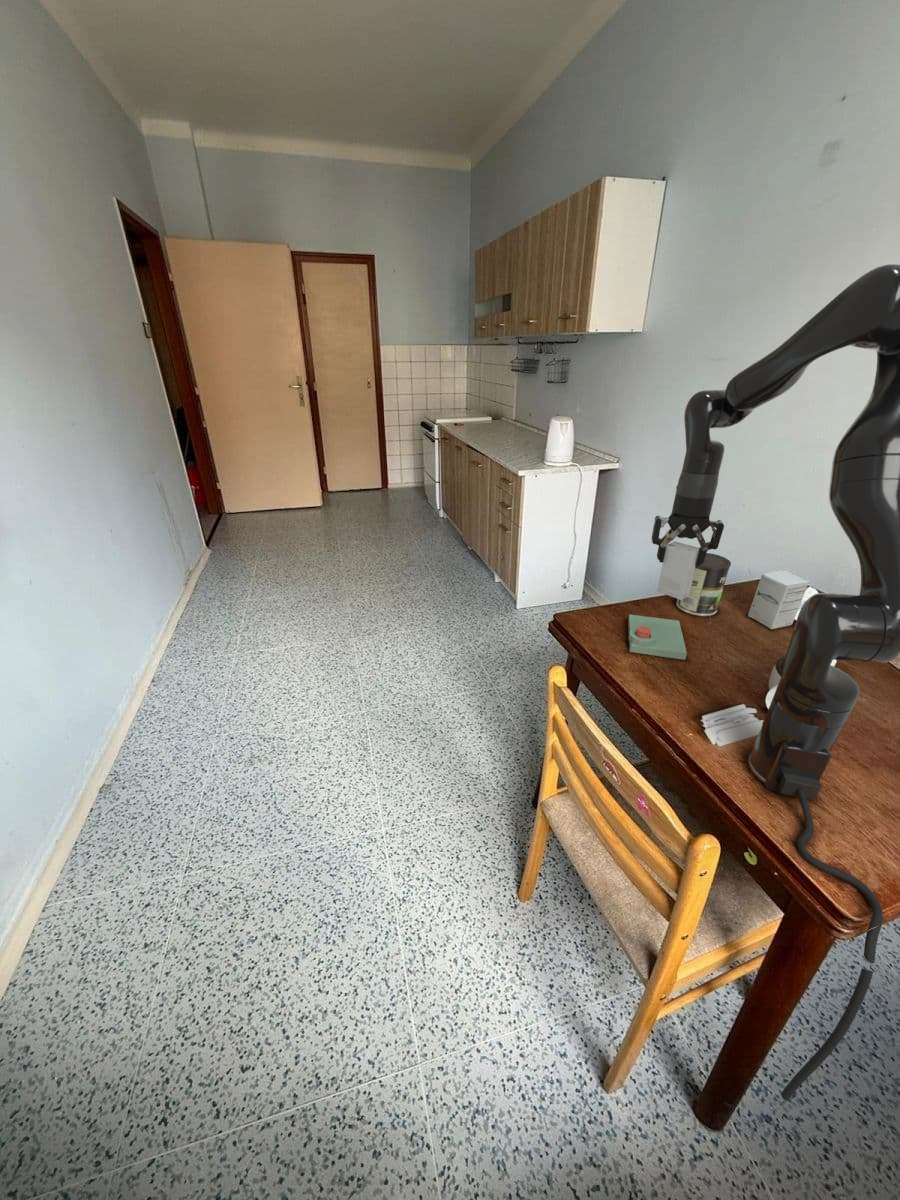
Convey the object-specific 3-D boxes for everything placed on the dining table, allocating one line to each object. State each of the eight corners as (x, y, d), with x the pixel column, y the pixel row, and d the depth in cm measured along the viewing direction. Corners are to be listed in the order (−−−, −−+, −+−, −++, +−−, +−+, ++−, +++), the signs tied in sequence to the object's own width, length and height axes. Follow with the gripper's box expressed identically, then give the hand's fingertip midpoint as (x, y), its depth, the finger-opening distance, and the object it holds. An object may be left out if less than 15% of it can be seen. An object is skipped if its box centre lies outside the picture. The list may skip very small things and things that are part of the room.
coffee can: (718, 603, 130) (732, 556, 124) (715, 620, 123) (729, 570, 116) (678, 595, 135) (689, 549, 128) (672, 610, 127) (684, 562, 121)
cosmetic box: (689, 595, 111) (702, 547, 105) (680, 601, 108) (692, 552, 103) (665, 586, 115) (675, 540, 109) (655, 592, 113) (665, 544, 107)
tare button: (649, 640, 109) (651, 633, 108) (636, 638, 110) (637, 631, 109) (648, 633, 112) (650, 627, 111) (635, 631, 113) (636, 625, 112)
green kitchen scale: (685, 660, 107) (688, 647, 106) (627, 651, 111) (629, 639, 109) (677, 626, 120) (680, 615, 118) (626, 620, 123) (628, 608, 122)
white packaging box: (746, 616, 124) (760, 572, 118) (768, 611, 126) (783, 568, 120) (770, 630, 118) (787, 585, 112) (793, 625, 120) (810, 580, 114)
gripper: (660, 494, 99) (646, 566, 107) (736, 499, 95) (716, 573, 103) (658, 485, 105) (644, 554, 113) (729, 489, 102) (710, 560, 109)
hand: (679, 562), depth 108 cm, fingers closed on cosmetic box, 7 cm apart
